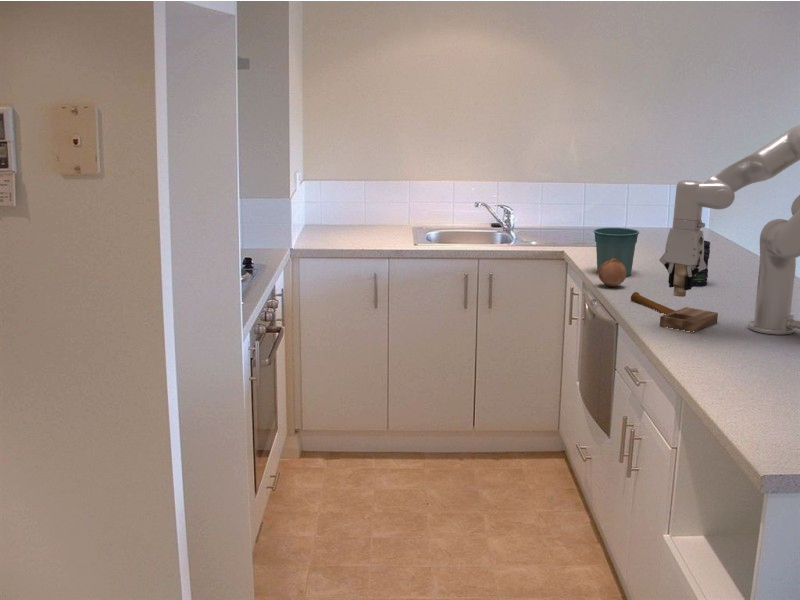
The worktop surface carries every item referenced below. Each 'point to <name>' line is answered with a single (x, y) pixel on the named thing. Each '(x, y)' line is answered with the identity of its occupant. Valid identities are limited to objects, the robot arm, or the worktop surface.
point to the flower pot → (616, 246)
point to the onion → (612, 272)
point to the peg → (680, 280)
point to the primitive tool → (650, 303)
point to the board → (688, 319)
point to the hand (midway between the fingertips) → (680, 287)
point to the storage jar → (702, 276)
